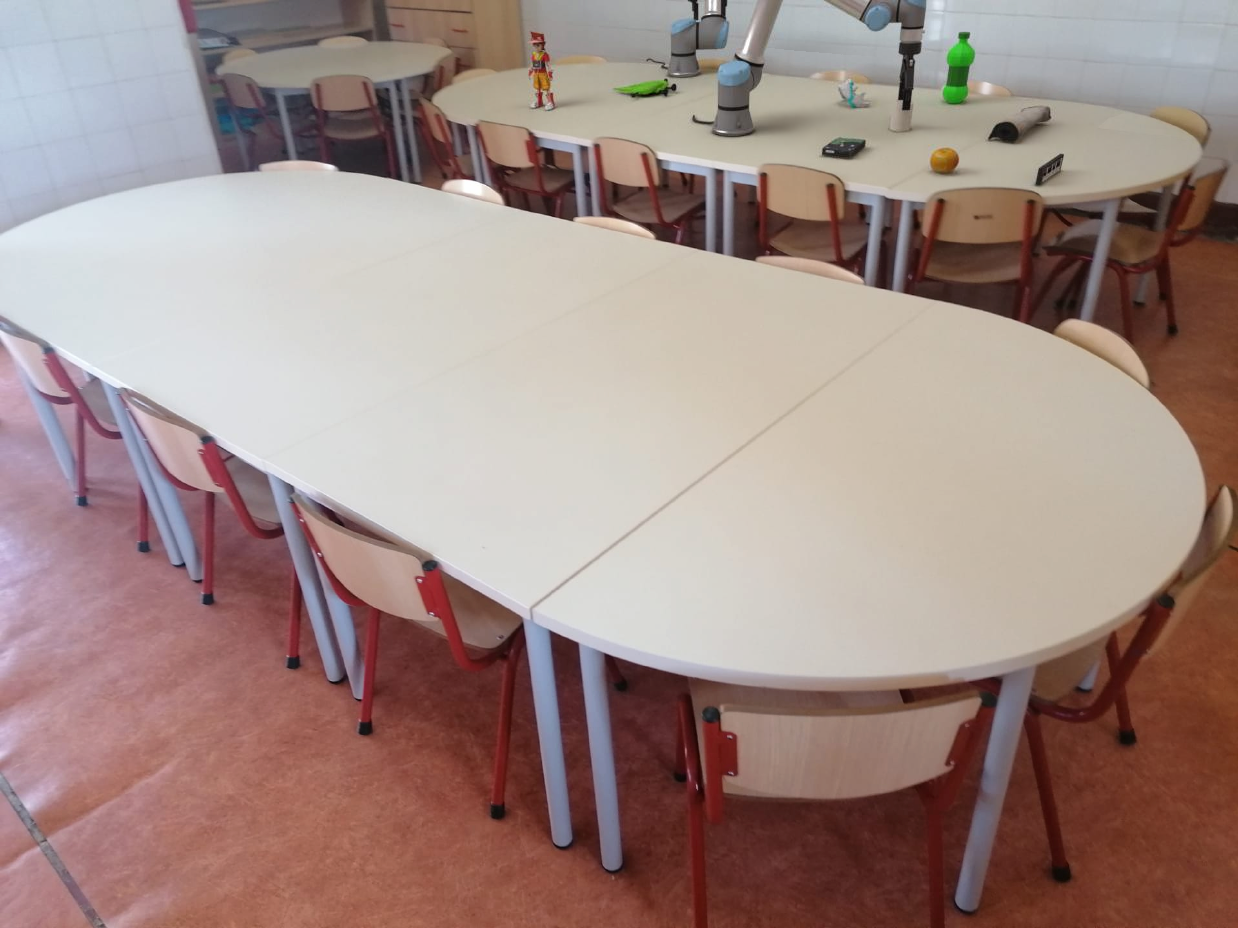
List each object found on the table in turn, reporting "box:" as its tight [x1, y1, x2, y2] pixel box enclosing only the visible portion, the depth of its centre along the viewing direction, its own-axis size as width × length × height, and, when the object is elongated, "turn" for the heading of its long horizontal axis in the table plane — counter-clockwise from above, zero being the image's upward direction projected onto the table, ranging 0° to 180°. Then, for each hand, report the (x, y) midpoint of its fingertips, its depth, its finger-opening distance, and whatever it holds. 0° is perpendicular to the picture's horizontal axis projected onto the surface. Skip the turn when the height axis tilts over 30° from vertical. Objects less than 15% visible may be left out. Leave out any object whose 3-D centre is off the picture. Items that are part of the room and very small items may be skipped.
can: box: [889, 99, 915, 133], centre depth 325 cm, size 7×7×9 cm
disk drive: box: [821, 136, 867, 159], centre depth 307 cm, size 10×3×15 cm
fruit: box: [929, 147, 960, 174], centre depth 283 cm, size 8×8×8 cm
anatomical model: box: [837, 78, 871, 108], centre depth 358 cm, size 15×10×10 cm
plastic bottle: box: [942, 31, 976, 104], centre depth 348 cm, size 10×10×25 cm
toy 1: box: [527, 31, 556, 111], centre depth 374 cm, size 12×9×30 cm
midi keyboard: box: [1035, 153, 1065, 186], centre depth 273 cm, size 18×1×5 cm, turn 138°
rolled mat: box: [987, 105, 1052, 144], centre depth 315 cm, size 30×9×10 cm
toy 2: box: [612, 78, 677, 99], centre depth 396 cm, size 28×5×30 cm
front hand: (903, 105), depth 323 cm, fingers open, 13 cm apart
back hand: (709, 18), depth 382 cm, fingers open, 13 cm apart
